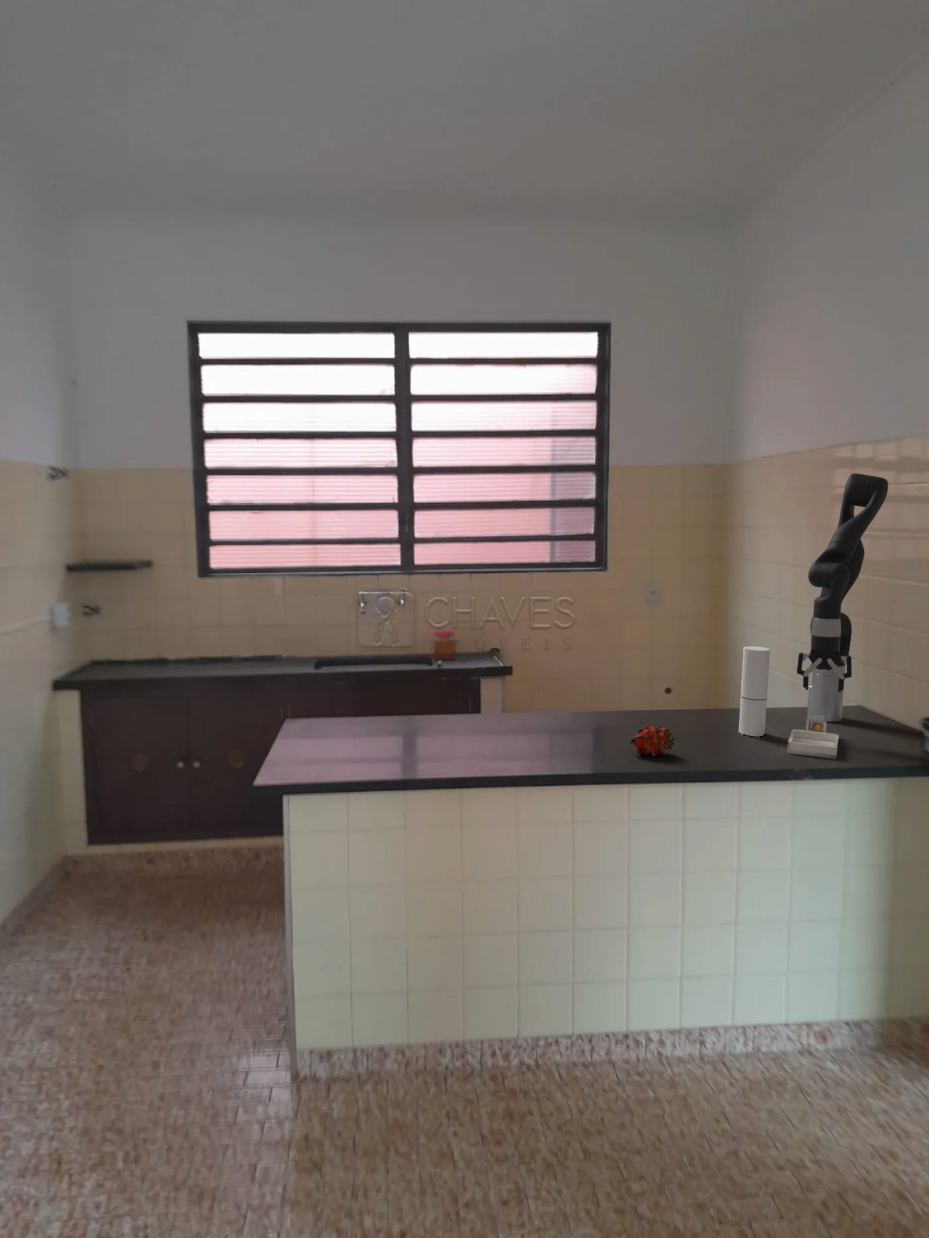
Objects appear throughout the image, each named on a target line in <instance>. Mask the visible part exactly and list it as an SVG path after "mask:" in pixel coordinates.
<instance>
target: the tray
mask: <svg viewBox="0 0 929 1238" xmlns="http://www.w3.org/2000/svg"><path fill="white" fill-rule="evenodd" d="M839 736H840V735H839V733H830V732H826V733H822V732H813V731H806V729H804V730H803V729H794V728H793V729H791V733H790V735H789V738H788V741H787V750H786V751H787V752H786V754H793V755H801V756H809V757H815V758H823V759H832V760H837V756H838V755H837V754H838V746H839Z"/></svg>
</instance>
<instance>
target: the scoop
mask: <svg viewBox="0 0 929 1238" xmlns="http://www.w3.org/2000/svg"><path fill="white" fill-rule="evenodd" d="M827 723H828V721H827V715H817V714H808V715H807V718H806V725H805V731H812V730H811V729H812V727H813V726H814V725H820V726H821V727H822V729H823V732H822V733H827V725H828V724H827Z"/></svg>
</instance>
